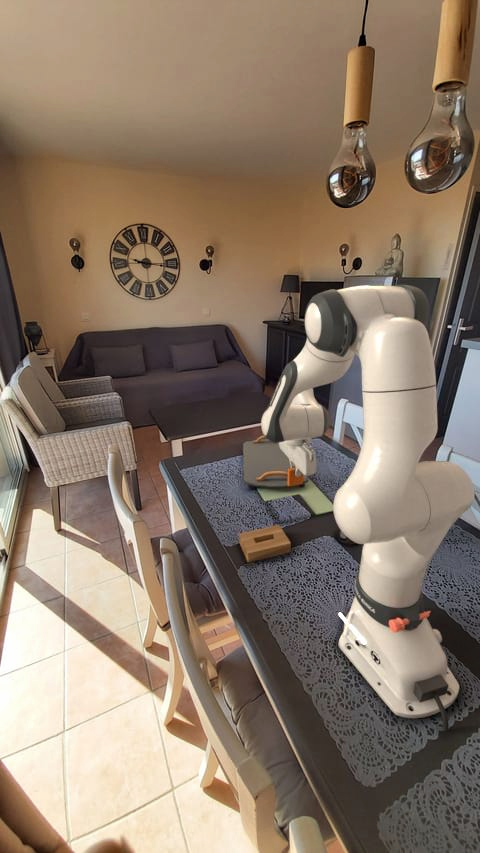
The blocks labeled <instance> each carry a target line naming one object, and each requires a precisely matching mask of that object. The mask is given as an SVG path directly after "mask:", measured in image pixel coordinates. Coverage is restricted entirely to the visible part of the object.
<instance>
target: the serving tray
mask: <svg viewBox="0 0 480 853" xmlns="http://www.w3.org/2000/svg"><path fill="white" fill-rule="evenodd" d="M242 455H243V458H242V465H243V466H242V472H243V473H242V474H243V483H244V484H246V485H247V488H248V489H249V490H252V489H253V488H254V487H289V486H288V469H291V465H290V461H289V458H288V457H287V456H286V454H285V453H284V452H283V451H282V450H281V449H280V446H279V443H273V442H271V441H270V440H268V439H267V438H266V437H265V436H264V435H261V436H259V437H258V438H257V439H254V440H249V441H245V442H244V443H243V444H242ZM308 478H309V475H308V476H305V475H304V474H303V484H299V486H300V487H304V486H305V483H306V482H308V481H309V479H310V478H309V479H308Z"/></svg>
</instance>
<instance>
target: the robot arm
mask: <svg viewBox="0 0 480 853" xmlns="http://www.w3.org/2000/svg"><path fill="white" fill-rule="evenodd" d="M429 318H430V305H429V301H428V297H427V296H426V293H425V292H423V290H422V289H420V288H419V287H416V286H413V285H408V284H396V285H369V284H364V285H355V286H350V287H345V288H340V289H334V288H333V289H332V288H331V289H328V290H324V291H322V292H318V293H317V294H315V295H313V296H312V297H311V299H310V300H309V302H308V303H307V305H306V308H305V311H304V330H305V334H306V335H305V336H306V341H305V343H304V346H303V347H302V349H301V351H300V352H299V353H298V354H297V355H296V356H295V357H294V359H292V360H290V362H289V363H287V364H286V365H285V367H284V369H283V370H282V372H281V375H280V377H279V378H278V380H277V384H276V386H275V389H274V391H273V394H272V396H271V398H270V401H269V403H268V405H267V407H266V408H265V410H264V411H263V413H262V415H261V420H260V423H261V424H260V426H261V433H262V436H265V437H266V439H268V440H270V441H271V442H273V443H279V446H280V449H281V450H282V451H283V452H284V453H285V454H286V456H287V457H288V458H289V461H290V465H291V468H296V470H294V474H295V475H296V477H298V476H301V472H302V473H303V474H304V475H305V476H308V477H309V476H313V475H315V474H316V473H317V454H316V451H315V450H314V449H313V447H312V445H311V444H310V443H311V442H312V439H316V438H321V437H323V436H324V435H325V434H326V432H327V431H328V429H329V427H330V412H329V410H328V409H327V408H326V407H325V406H324V405H323V404H321V403H320V402H318V401H317V399H316V398H315V395H314V389H315V388H317V387H321V386H325V385H328V384H331V383H334V382H336V381H338V380H340V379H341V378H342V377H343V376H344V375H345V374H346V373H347V372H348V370H349V369H350V367H351V365H352V363H353V361H354V358H355V356H357V357H358V358H359V361H360V367H361V391H362V392H361V394H362V411H363V412H362V413H363V414H362V415H363V435H362V443H361V447H360V451H359V454H358V458H357V460H356V462H355V464H354V467H353V469H352V471H351V473H350V475H349V476H348V478H347V479H346V480H345V481H344V483H343V484H342V485H341V486H340V487H339V488H338V489H337V490H336V492H335V495H334V499H333V503H332V504H333V511H332V512H333V516H334V520H335V522H336V524H337V526H338V528H340V529H341V531H342V532H343V533H344V534H345V535H346V536H347V537H348V538H349V539H351V540H352V541H354V542H355V543H356V544H358V545H362V549H361V550H362V551H361V559H360V563H359V564H360V565H359V569H358V571H357V573H356V577H355V581H354V597H353V600H352V603H351V606H350V609H349V611H348V613H347V615H346V616H344V615H343V613H342V612H338V616H339V617H340V619H341V620H342V621H343V631H342V633H341V635H340V638H339V640H338V647H339V649H340V650H341V651H342V653H343V654H344V656H346V657H347V659H348V660H349V661H350V663H352V665H353V666H354V667H355V668H356V670H357V671H358V672H359V673H360V674H361V676H362V677H363V678H364V679H365V681H366V682H367V683H368V684H369V686H371V688H372V689H373V690H374V691H375V692H376V694H377V695H378V696H379V697H380V698H381V700H382V701H383V702H384V704H385V705H386V706H387V707H388V708H389V710H390V711H391V712H392V713H393V714H394V715H395V716H398V717H401V718H406V719H422V718H426V717H430V716H433V715H435V714H438V713H440V715H441V719H442V720H441V722H442V723H441V724H442V730H444V731H445V732H447V731H449V719H448V714H447V711H446V709H447V708H449V707H450V706H451V705H452V704H453V703H454V702H455V701H456V700H457V698H458V695H459V692H460V684H459V682H458V681H457V679H456V677H455V676H454V674H453V672H452V671H451V669H450V667H449V666H448V659H447V656H446V653H445V651H444V649H443V647H442V645H441V643H442V642H443V637H442V634H441V631H439V630H438V629H437V628H433V627H432V626H431V625H432V624H430V621H429V620H428V618H429V617H430V616H431V615H430V613H431V612H432V611H431V610H427V611H426V610H425V602H424V595H423V590H422V588H423V585H424V581H425V577H426V573H427V570H428V566H429V564H430V562H431V560H432V558H433V556H434V555H435V553H436V552H437V550H438V549H439V546H440V545H441V543H442V542H443V541H444V539H445V537H446V536H447V534H448V532H449V531H450V530H451V528H452V527H453V525H454V524H455V523H456V522H457V521H458V520H459V518H460V517H461V516H462V515H463V514H465V512H467V511H468V510H469V509H470V508H471V507H472V505H473V503H474V501H475V497H476V496H475V495H476V493H475V487H474V483H473V481H472V479H471V476H470V475H469V474H468V473H467V471H465V469H463V467H461V466H460V465H458V464H456V463H455V462H452V461H448V460H424V461H420V459H421V457H422V455H423V454H424V452H425V450H426V449H427V448H428V447H429V446H430V445H431V444H432V442H433V441H434V440H435V438H436V436H437V433H438V401H437V400H438V399H437V378H436V377H437V376H436V367H435V360H434V354H433V349H432V344H431V340H430V337H429V332H428V330H427V326H428V323H429Z"/></svg>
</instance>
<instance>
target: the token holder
mask: <svg viewBox="0 0 480 853" xmlns="http://www.w3.org/2000/svg"><path fill="white" fill-rule="evenodd" d="M238 543H239V544H240V547H241V550H242V552H243V554H244V556H245V560H246V561H247V563H253V562H257V561H260V560H264V559H268V558H272V557H275V556H281V555H284V554H289V553H291V552H292V551H291V549H292V543H291V541H290V539H289V537H288V536H287V535H286V533H285V531H284V530H283V528H282V527H281V525H280V524H276V525H271V526H267V527H263V528H259V529H253V530H250V531H246V532H240V533H238Z"/></svg>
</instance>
